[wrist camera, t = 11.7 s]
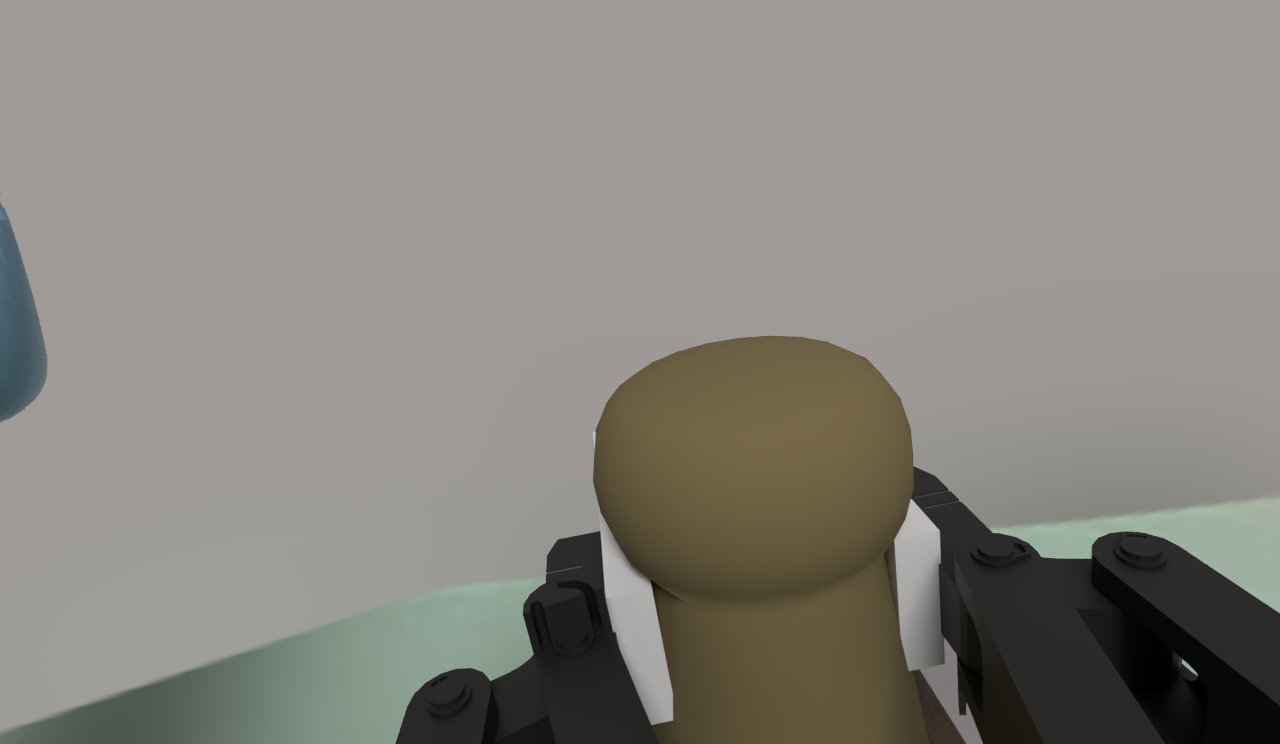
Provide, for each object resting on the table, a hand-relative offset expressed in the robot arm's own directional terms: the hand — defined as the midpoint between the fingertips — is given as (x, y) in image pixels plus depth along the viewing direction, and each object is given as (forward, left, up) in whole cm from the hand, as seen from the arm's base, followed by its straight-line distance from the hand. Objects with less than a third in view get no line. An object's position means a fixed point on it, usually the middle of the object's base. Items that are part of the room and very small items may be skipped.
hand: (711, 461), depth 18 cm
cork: (0, -5, -7) cm, 9 cm away
